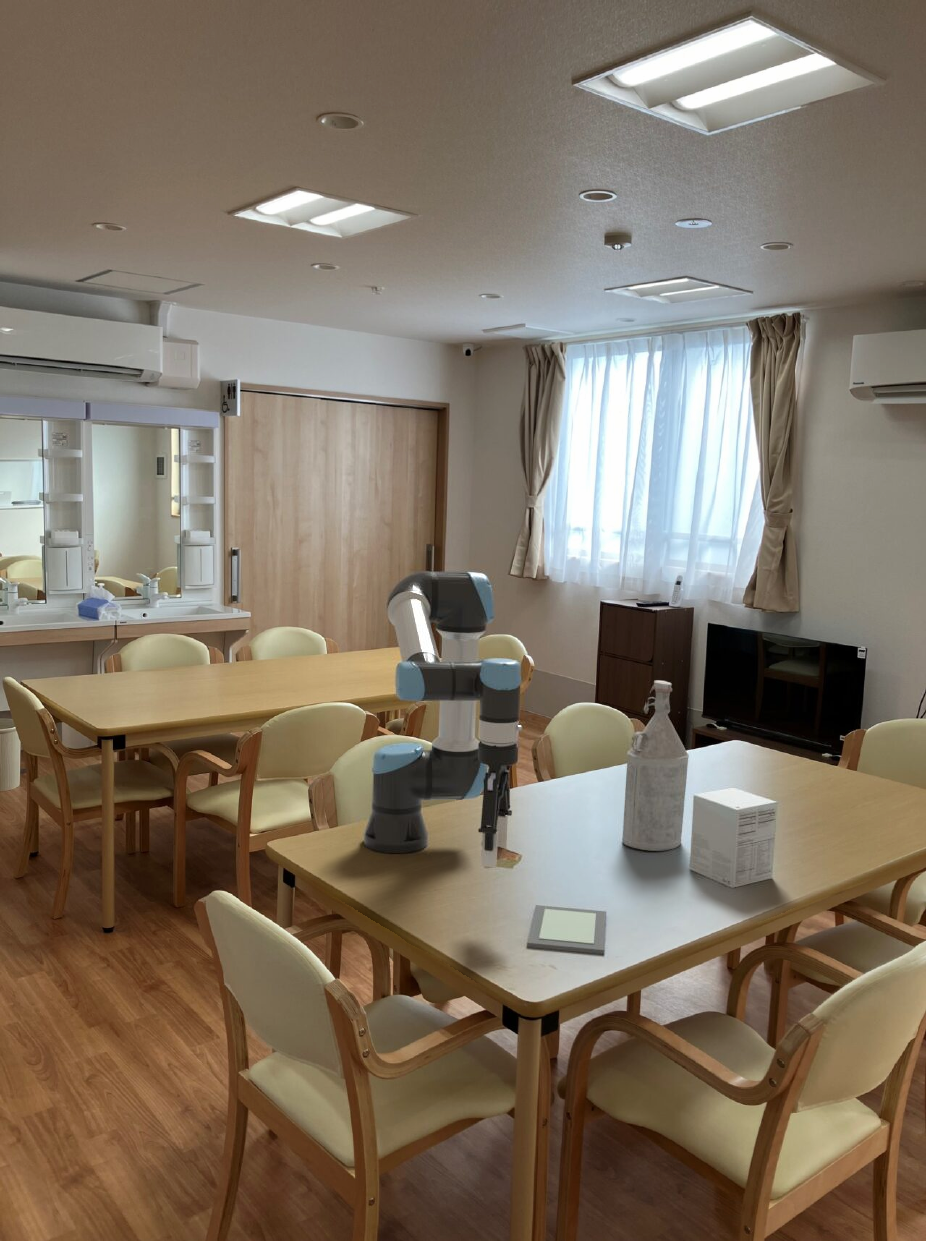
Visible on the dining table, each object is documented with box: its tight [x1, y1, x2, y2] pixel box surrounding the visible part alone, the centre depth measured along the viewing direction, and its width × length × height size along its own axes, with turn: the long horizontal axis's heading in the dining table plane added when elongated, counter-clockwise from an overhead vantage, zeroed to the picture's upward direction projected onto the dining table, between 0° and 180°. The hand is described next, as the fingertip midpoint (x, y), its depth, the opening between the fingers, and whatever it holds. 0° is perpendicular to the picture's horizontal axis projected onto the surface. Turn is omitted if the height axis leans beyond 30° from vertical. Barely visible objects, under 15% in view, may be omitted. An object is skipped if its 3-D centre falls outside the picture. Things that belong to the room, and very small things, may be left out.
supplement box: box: [689, 787, 778, 889], centre depth 224 cm, size 13×13×18 cm
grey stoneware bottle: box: [621, 679, 690, 852], centre depth 242 cm, size 13×17×40 cm
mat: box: [526, 904, 607, 955], centre depth 192 cm, size 14×18×1 cm
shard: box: [483, 846, 523, 870], centre depth 193 cm, size 11×8×2 cm
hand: (494, 857), depth 192 cm, fingers closed on shard, 9 cm apart
